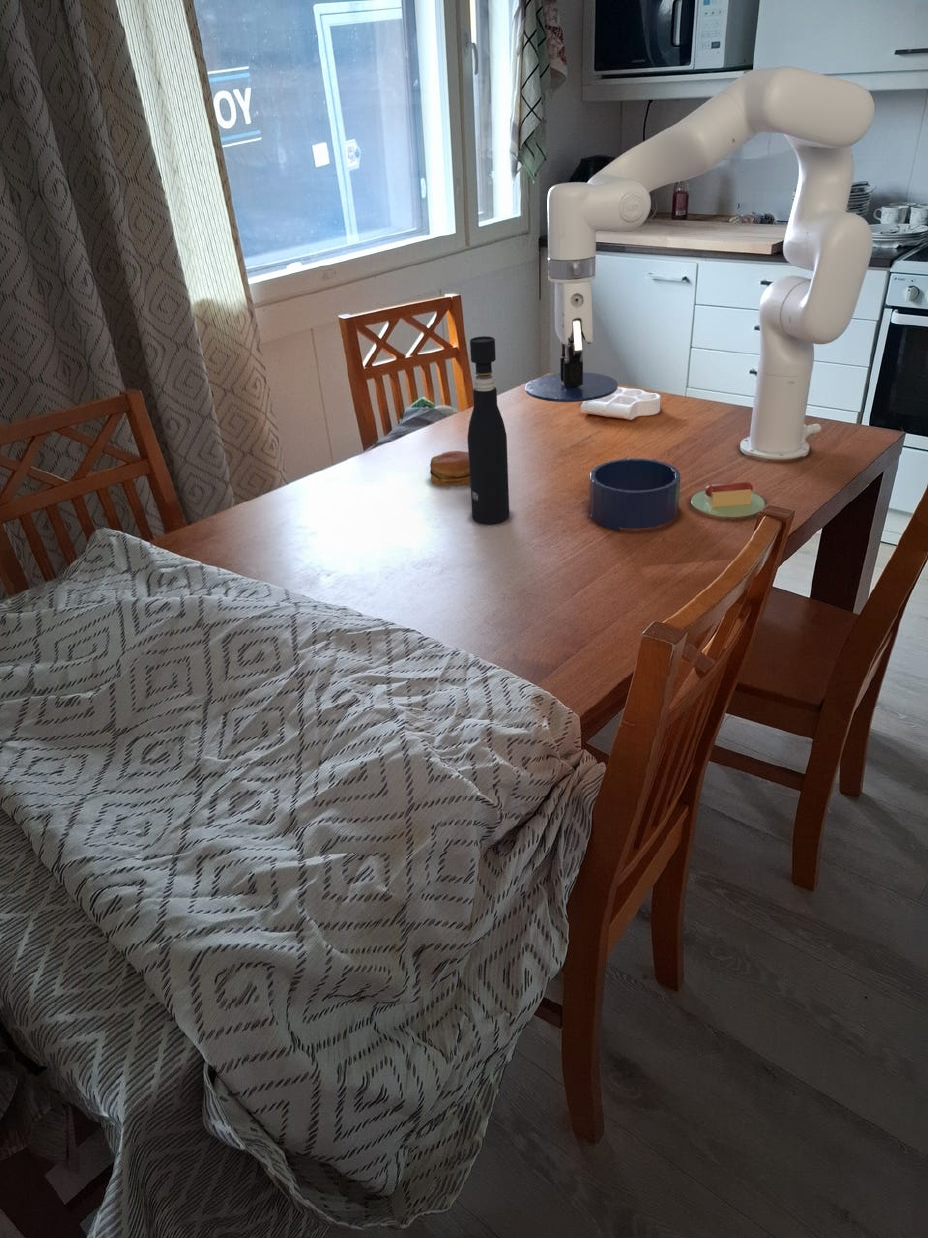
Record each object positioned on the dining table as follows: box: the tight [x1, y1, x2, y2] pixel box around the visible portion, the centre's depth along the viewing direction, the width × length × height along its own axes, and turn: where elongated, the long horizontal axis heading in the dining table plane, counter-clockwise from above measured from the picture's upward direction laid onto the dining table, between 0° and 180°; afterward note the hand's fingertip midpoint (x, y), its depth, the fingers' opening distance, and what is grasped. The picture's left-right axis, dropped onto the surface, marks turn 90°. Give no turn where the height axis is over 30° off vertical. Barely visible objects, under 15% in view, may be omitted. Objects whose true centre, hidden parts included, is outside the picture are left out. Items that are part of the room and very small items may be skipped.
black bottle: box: [467, 335, 510, 526], centre depth 140 cm, size 6×6×30 cm
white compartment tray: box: [579, 386, 662, 421], centre depth 191 cm, size 3×18×15 cm
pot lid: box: [524, 359, 619, 403], centre depth 146 cm, size 16×16×6 cm
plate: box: [690, 489, 766, 518], centre depth 146 cm, size 12×12×1 cm
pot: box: [589, 458, 681, 532], centre depth 144 cm, size 15×15×7 cm
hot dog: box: [704, 481, 754, 507], centre depth 145 cm, size 8×4×3 cm, turn 94°
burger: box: [429, 450, 470, 488], centre depth 162 cm, size 10×9×5 cm
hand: (571, 382), depth 147 cm, fingers closed on pot lid, 2 cm apart
